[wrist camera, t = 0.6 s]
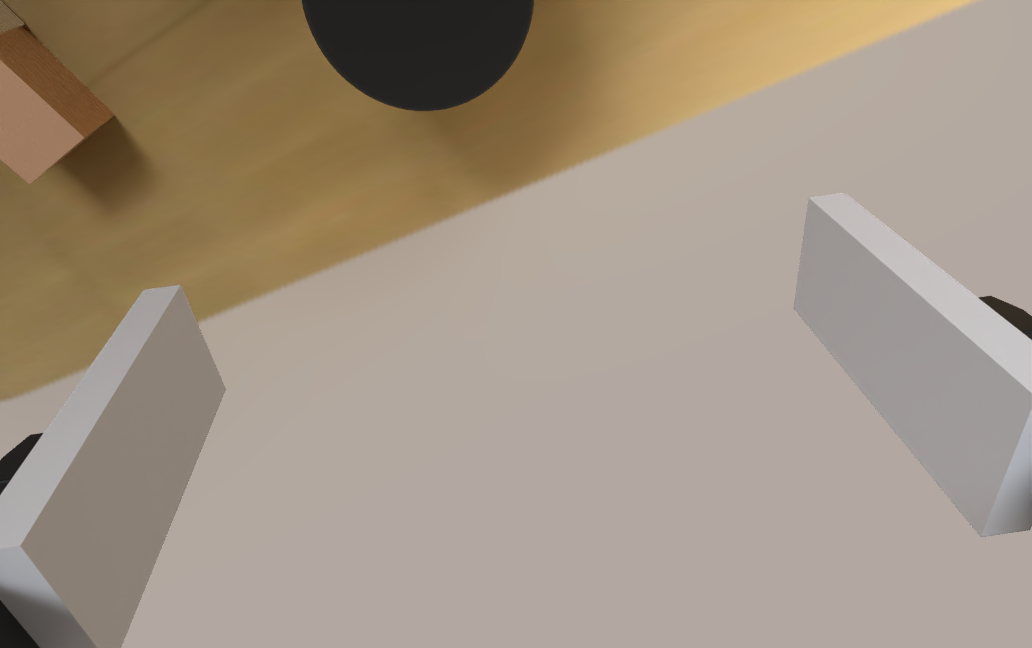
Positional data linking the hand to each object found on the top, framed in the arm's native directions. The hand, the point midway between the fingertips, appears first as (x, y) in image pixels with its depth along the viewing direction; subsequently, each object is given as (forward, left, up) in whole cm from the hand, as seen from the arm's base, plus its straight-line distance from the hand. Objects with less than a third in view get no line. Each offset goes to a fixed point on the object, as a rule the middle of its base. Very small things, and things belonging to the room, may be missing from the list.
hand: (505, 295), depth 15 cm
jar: (-4, +1, -26) cm, 26 cm away
